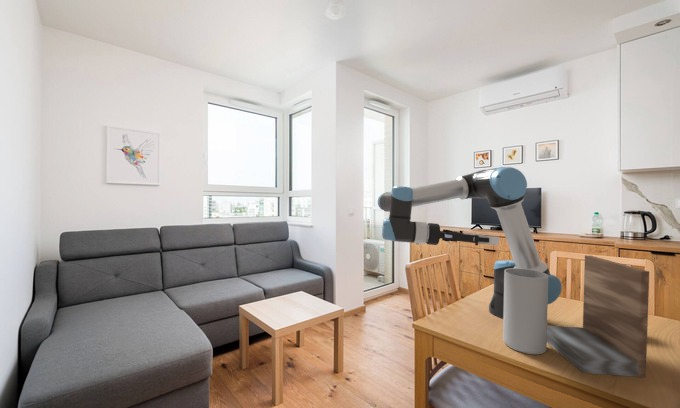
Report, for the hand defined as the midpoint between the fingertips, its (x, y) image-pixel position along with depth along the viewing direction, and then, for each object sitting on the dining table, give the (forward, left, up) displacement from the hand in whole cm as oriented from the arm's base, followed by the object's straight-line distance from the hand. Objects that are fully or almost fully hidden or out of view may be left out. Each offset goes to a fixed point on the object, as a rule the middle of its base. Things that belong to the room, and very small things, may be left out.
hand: (489, 239), depth 99 cm
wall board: (+24, +16, -36) cm, 46 cm away
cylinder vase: (+9, +7, -36) cm, 38 cm away
